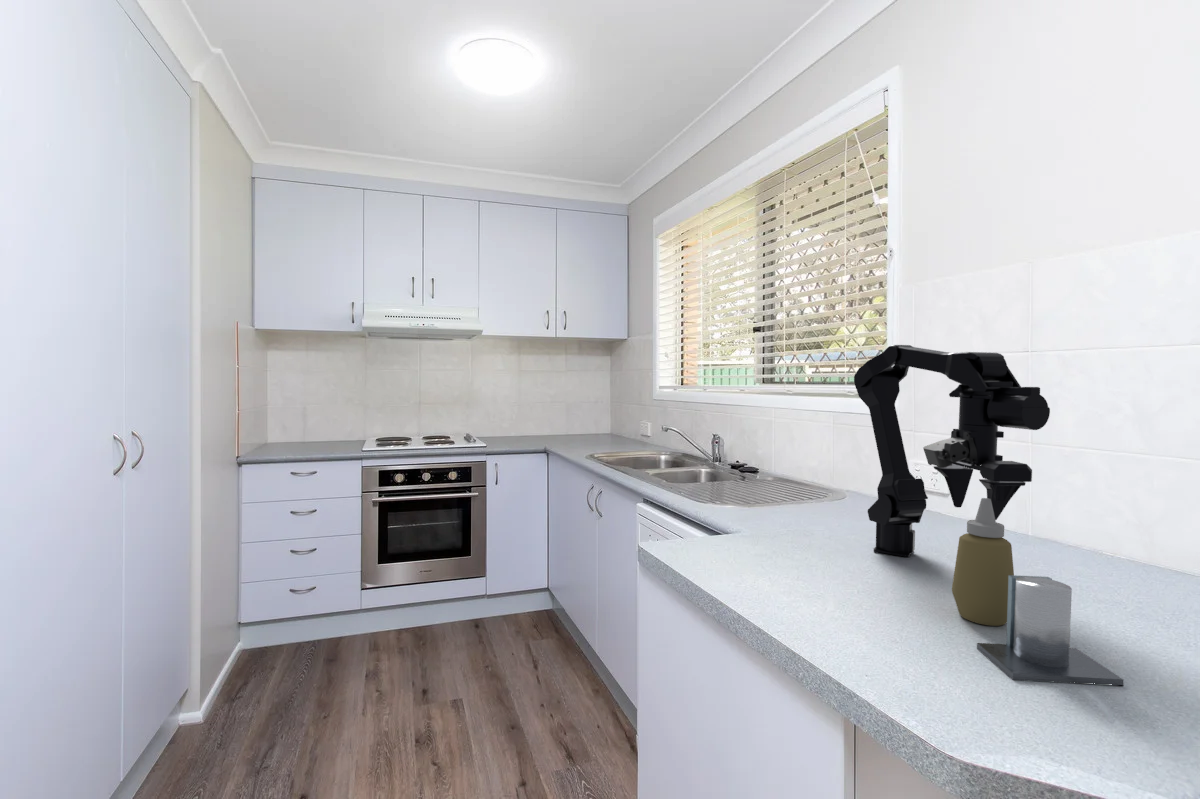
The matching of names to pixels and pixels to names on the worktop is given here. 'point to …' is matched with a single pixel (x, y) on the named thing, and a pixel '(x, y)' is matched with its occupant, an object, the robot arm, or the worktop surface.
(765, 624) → the worktop surface
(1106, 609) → the worktop surface
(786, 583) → the worktop surface
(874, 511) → the robot arm
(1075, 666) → the bookend
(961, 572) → the squeeze bottle
